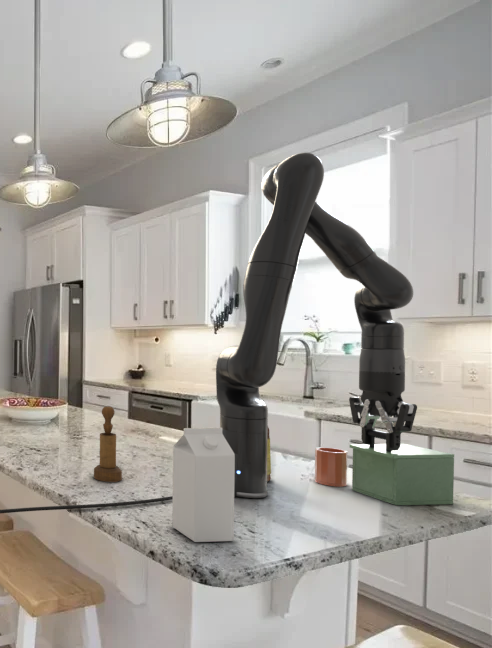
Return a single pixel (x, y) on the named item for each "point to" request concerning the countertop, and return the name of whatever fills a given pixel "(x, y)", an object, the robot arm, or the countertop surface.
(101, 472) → the brown wooden tall piece
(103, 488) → the countertop surface
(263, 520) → the countertop surface
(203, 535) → the milk carton
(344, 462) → the cup
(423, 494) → the box
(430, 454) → the lid
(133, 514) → the countertop surface
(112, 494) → the countertop surface
